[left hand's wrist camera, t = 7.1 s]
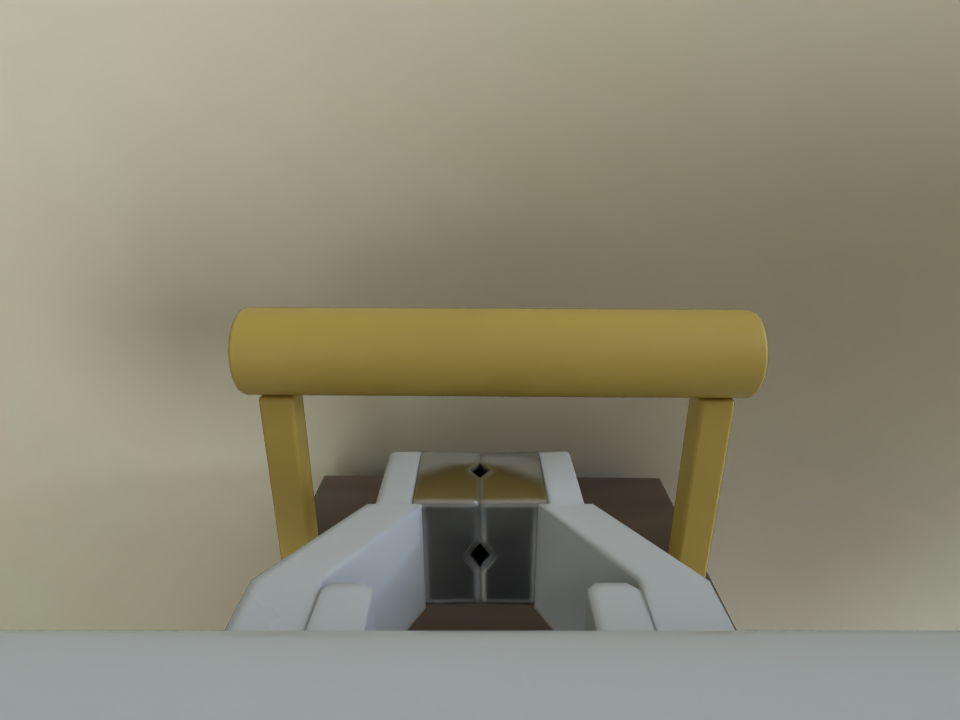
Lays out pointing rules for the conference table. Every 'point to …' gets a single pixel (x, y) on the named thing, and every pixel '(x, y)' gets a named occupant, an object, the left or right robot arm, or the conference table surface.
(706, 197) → the conference table surface
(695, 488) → the drawer
